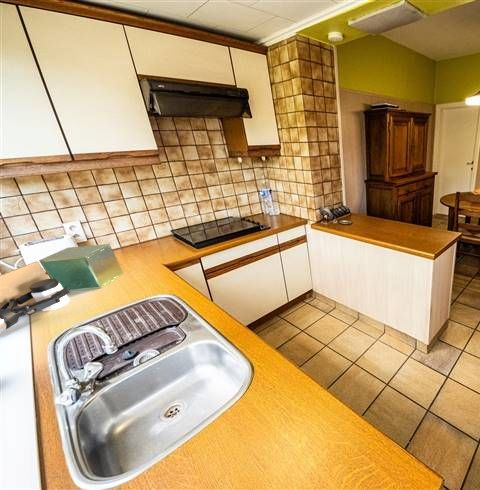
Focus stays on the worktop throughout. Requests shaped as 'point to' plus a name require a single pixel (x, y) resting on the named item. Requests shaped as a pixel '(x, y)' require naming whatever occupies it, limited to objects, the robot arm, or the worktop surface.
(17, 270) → the fridge door
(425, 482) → the worktop surface
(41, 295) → the jar
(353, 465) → the worktop surface
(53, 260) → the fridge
